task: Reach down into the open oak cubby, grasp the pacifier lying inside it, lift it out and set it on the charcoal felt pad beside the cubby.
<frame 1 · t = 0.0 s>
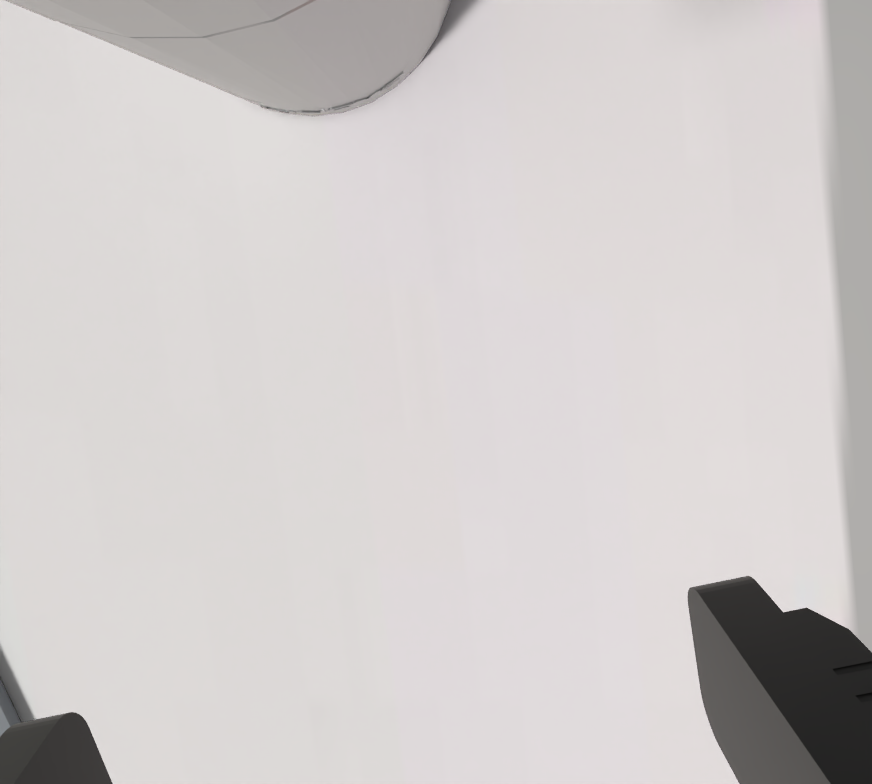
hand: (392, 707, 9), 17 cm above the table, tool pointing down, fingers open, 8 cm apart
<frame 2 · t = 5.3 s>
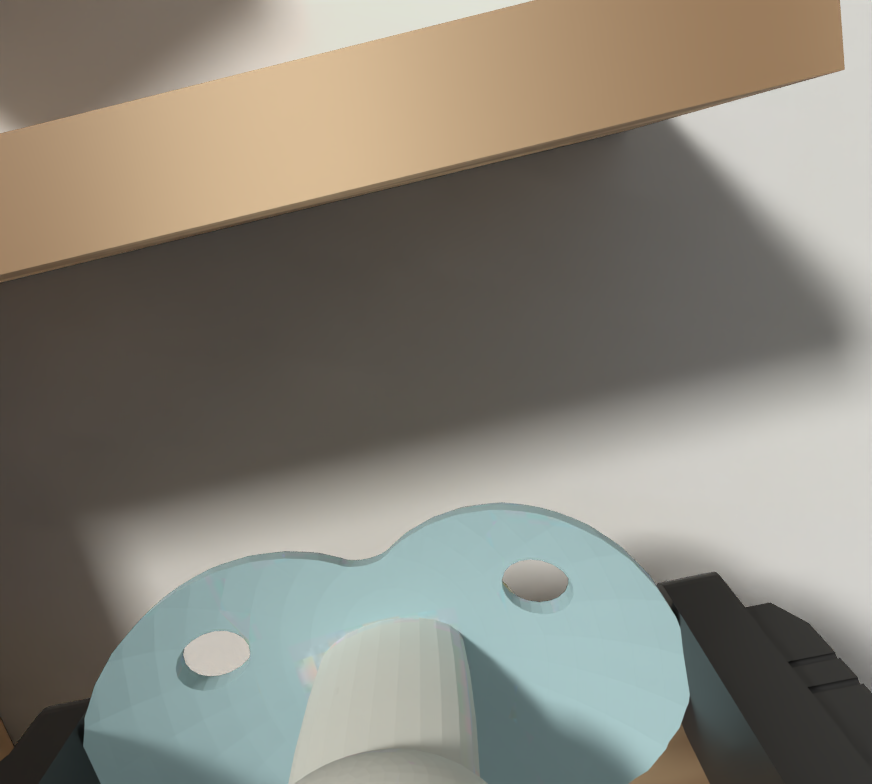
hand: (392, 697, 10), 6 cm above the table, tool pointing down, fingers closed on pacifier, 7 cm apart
pacifier: (410, 661, 11), point 4 cm above the table, touching gripper
cubby: (277, 531, 15), on the table
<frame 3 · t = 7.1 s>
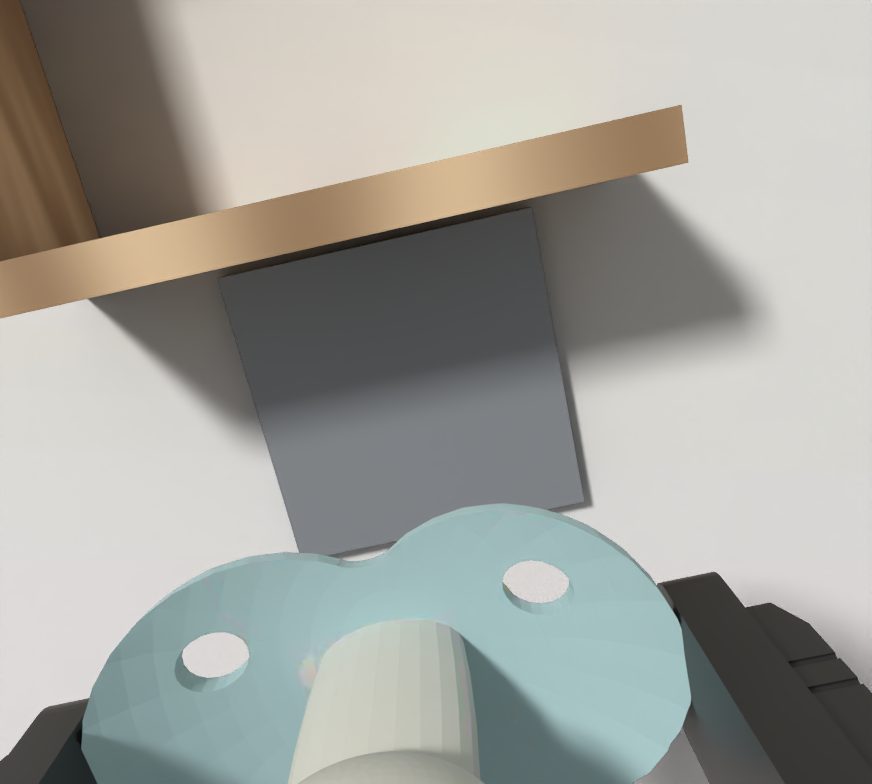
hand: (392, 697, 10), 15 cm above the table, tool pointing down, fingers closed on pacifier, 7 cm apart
pacifier: (410, 662, 11), point 14 cm above the table, touching gripper
pad: (409, 390, 24), on the table
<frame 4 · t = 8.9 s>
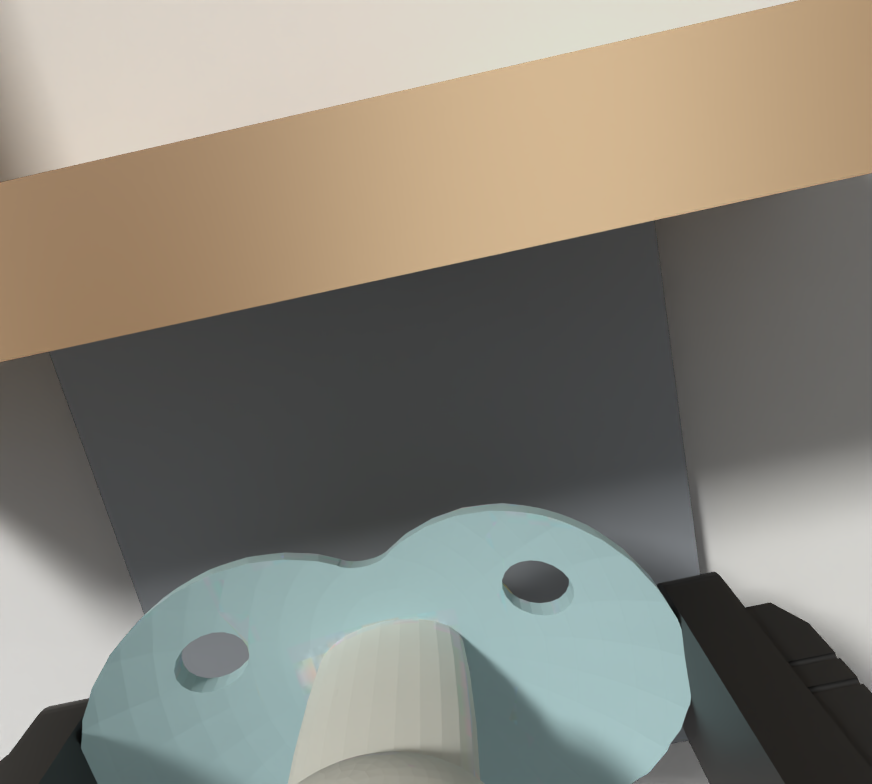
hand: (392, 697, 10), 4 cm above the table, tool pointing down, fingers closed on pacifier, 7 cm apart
pacifier: (409, 662, 11), point 3 cm above the table, touching gripper
pad: (412, 540, 13), on the table
when the fingers open (3 cm above the table, at t = 10.2 s): pacifier drops 1 cm, resting on pad.
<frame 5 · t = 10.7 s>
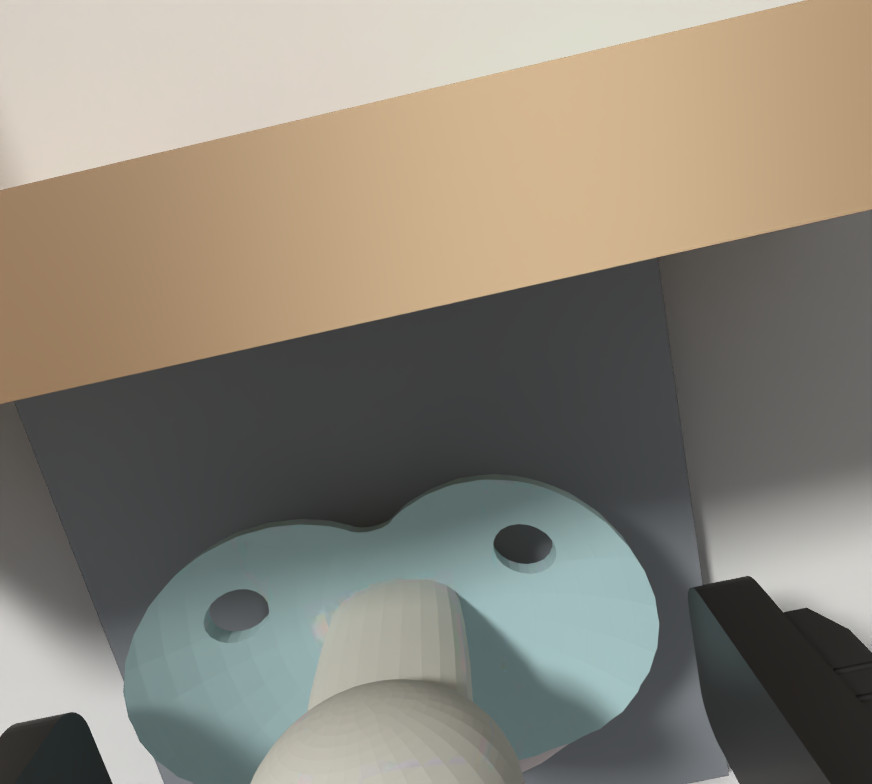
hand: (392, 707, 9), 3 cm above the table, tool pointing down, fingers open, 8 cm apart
pacifier: (411, 623, 12), resting on pad
pad: (400, 574, 13), on the table
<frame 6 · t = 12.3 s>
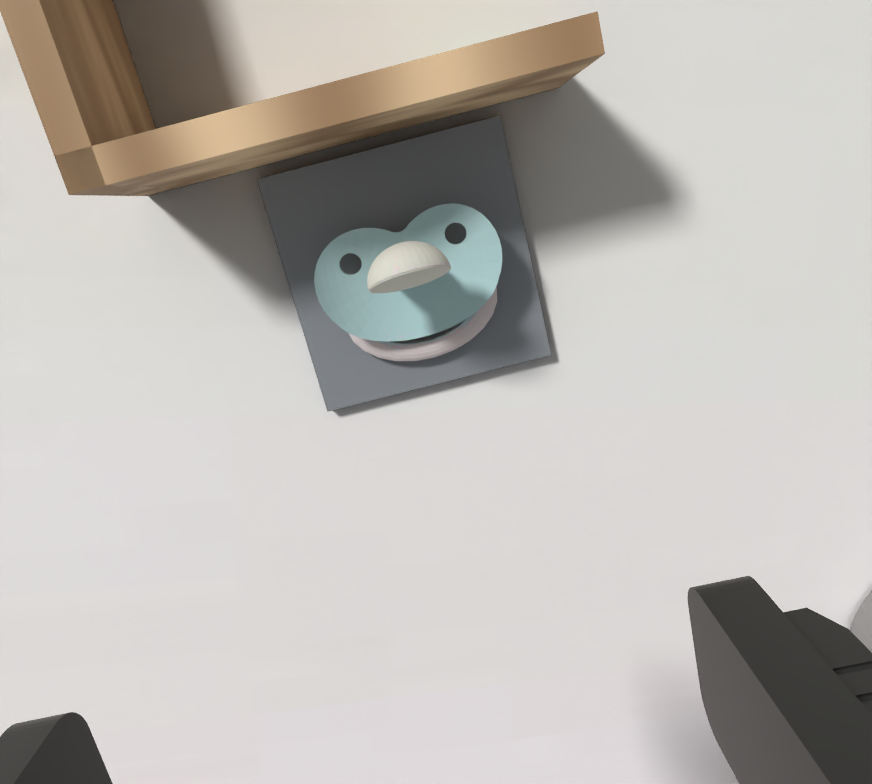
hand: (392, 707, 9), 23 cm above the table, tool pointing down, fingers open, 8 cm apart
pacifier: (414, 287, 30), resting on pad
pad: (409, 269, 30), on the table
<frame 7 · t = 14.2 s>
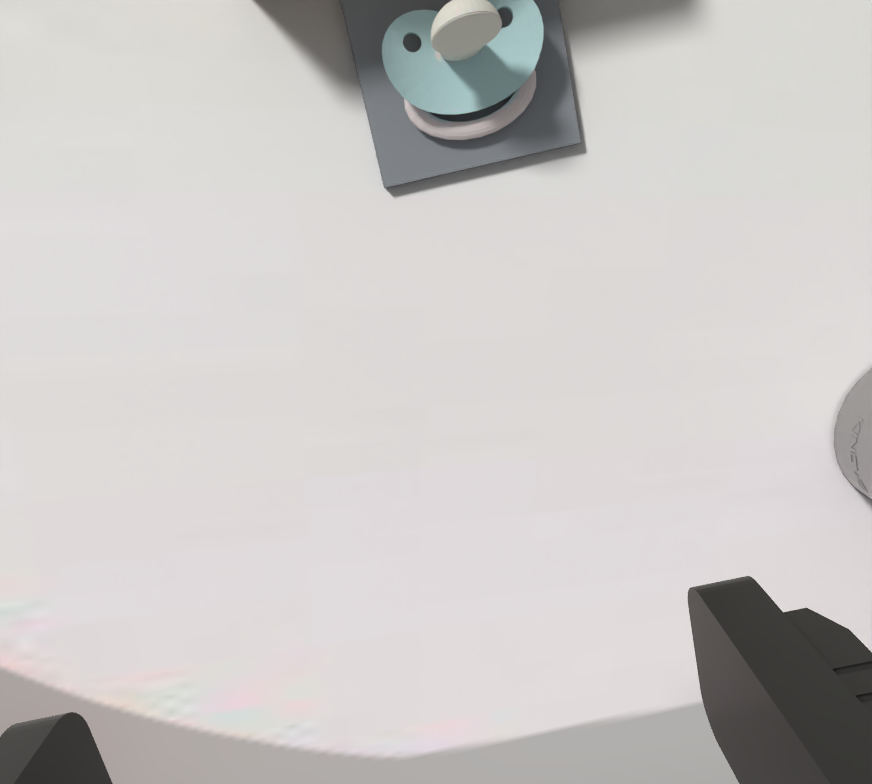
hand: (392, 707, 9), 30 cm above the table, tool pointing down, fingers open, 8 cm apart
pacifier: (464, 75, 35), resting on pad
pad: (460, 60, 35), on the table
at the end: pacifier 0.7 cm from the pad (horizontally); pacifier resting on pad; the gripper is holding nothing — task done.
